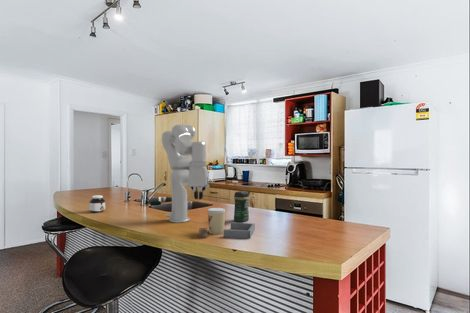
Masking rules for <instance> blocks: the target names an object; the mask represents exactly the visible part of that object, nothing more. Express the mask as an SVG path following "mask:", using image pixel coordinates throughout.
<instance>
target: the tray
mask: <svg viewBox="0 0 470 313" xmlns="http://www.w3.org/2000/svg"><path fill="white" fill-rule="evenodd" d="M255 229H256V224H255V223H253V222H252V223H248V222H247V223H246V222H230V229H227V228H224V232H223V238H231V239H232V238H234V239H248V238H250V239H251V237H252V235H253V234H254V232H255V231H256V230H255ZM254 230H255V231H254Z"/></svg>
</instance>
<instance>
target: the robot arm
mask: <svg viewBox="0 0 470 313" xmlns="http://www.w3.org/2000/svg"><path fill="white" fill-rule="evenodd" d="M195 136H196V129H195V127H194V126H193V125H191V124H190V125H189V124H175V125H174V126H173V127H172V128H171V130H167V131H166V130H165V131H163V133H162V134H161V144H162V147H163V150H165V152H166V155H167V159H168V163H169V167H170V169H171V170H172V172H171V173H170V176H169V178H170V184H171V185H170V186H171V213H166V214H165V217H167V218H169V219H168V221H169V222H170V223H178V224H179V223H186V222H189V221H190V219H191V217H189V216H188V190H187V189H186V188H185V187H184V186H187V188H189V189H191V190H192V191H193V198H194V200H197V199H198V200H202V199H203V198H204V191H205V190H206V189H208V188H210V184H209V183H210V182H209V173H208V171H209V170H208V168H207V166H206V165H207V162H206V160H207V159H206V154H207V151H206V150H207V144H206V143H205V142H204V141H192V140H193V139H194V137H195ZM198 187H199V191H198Z"/></svg>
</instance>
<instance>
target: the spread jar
mask: <svg viewBox="0 0 470 313" xmlns="http://www.w3.org/2000/svg"><path fill="white" fill-rule="evenodd" d="M91 197H92V198H91V199H90V201H89V202H88V204H89V206H88V209H89V211H90V212H91V213H93V214H100V213H103V212H104V211H105V210H106V200H105V199H104V198H103V197H104V196H103V195H99V194H97V195H92V196H91Z"/></svg>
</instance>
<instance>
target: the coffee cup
mask: <svg viewBox="0 0 470 313" xmlns="http://www.w3.org/2000/svg"><path fill="white" fill-rule="evenodd" d="M207 219H208V222H207V223H208V232H209V234H212V235H220V234H224V229H225V221H226V220H225V219H226V209H225V208H223V207H211V208H208V209H207Z"/></svg>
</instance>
